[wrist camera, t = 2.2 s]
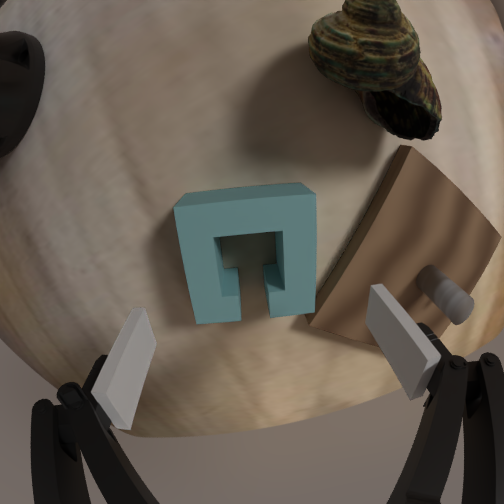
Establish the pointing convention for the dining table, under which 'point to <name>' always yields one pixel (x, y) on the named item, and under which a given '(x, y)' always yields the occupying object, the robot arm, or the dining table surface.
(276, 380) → the dining table surface
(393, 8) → the seashell
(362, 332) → the post block
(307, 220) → the teal slotted block
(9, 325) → the dining table surface
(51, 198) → the dining table surface
